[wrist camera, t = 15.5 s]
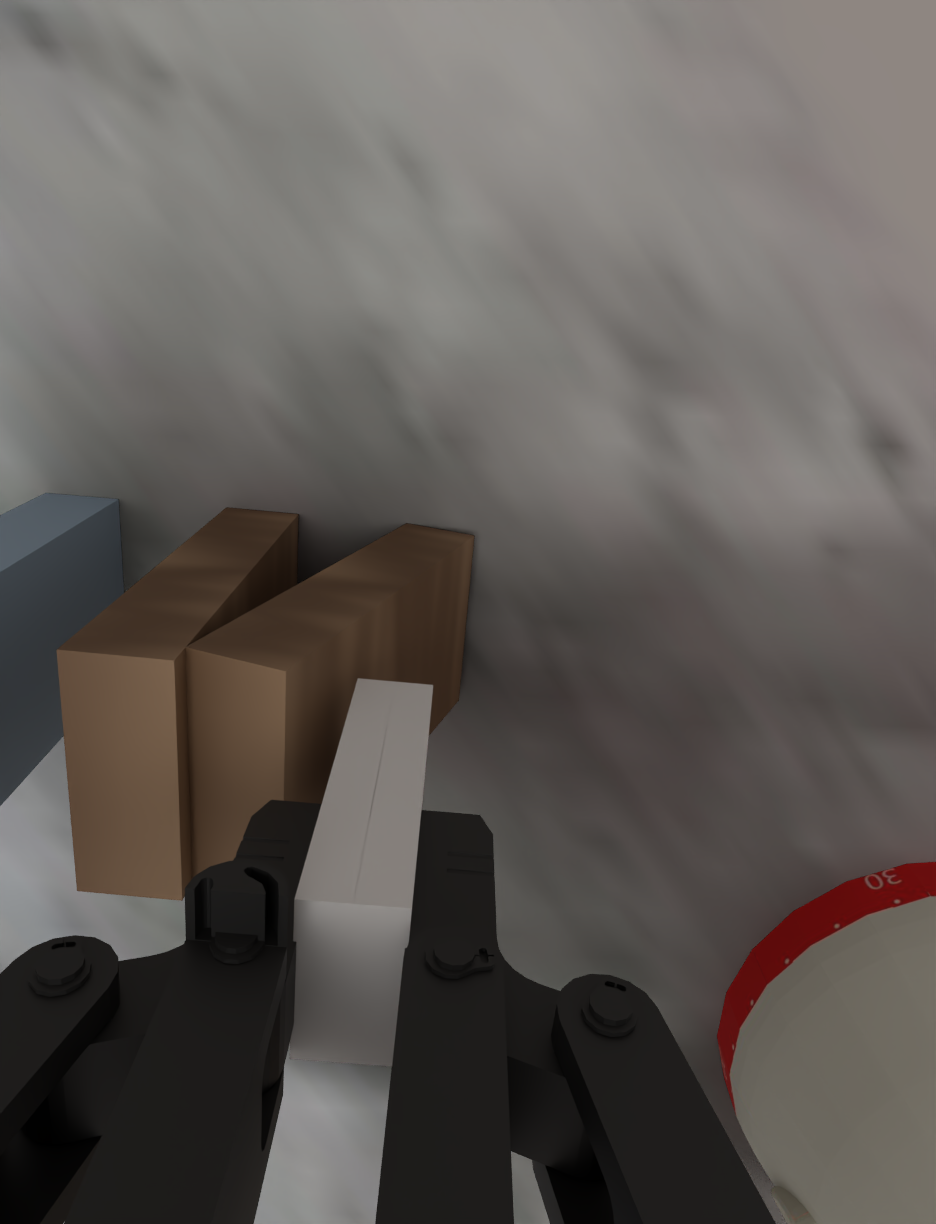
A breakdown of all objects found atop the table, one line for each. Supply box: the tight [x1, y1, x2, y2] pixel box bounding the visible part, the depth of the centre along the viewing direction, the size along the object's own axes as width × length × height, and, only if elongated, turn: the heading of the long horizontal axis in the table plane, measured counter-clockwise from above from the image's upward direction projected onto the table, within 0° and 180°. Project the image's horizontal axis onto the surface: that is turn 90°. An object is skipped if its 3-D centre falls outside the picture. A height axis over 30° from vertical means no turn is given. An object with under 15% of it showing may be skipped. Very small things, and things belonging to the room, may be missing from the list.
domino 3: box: [185, 523, 474, 878], centre depth 20 cm, size 2×5×10 cm, turn 173°
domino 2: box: [56, 508, 299, 901], centre depth 20 cm, size 2×5×10 cm, turn 174°
